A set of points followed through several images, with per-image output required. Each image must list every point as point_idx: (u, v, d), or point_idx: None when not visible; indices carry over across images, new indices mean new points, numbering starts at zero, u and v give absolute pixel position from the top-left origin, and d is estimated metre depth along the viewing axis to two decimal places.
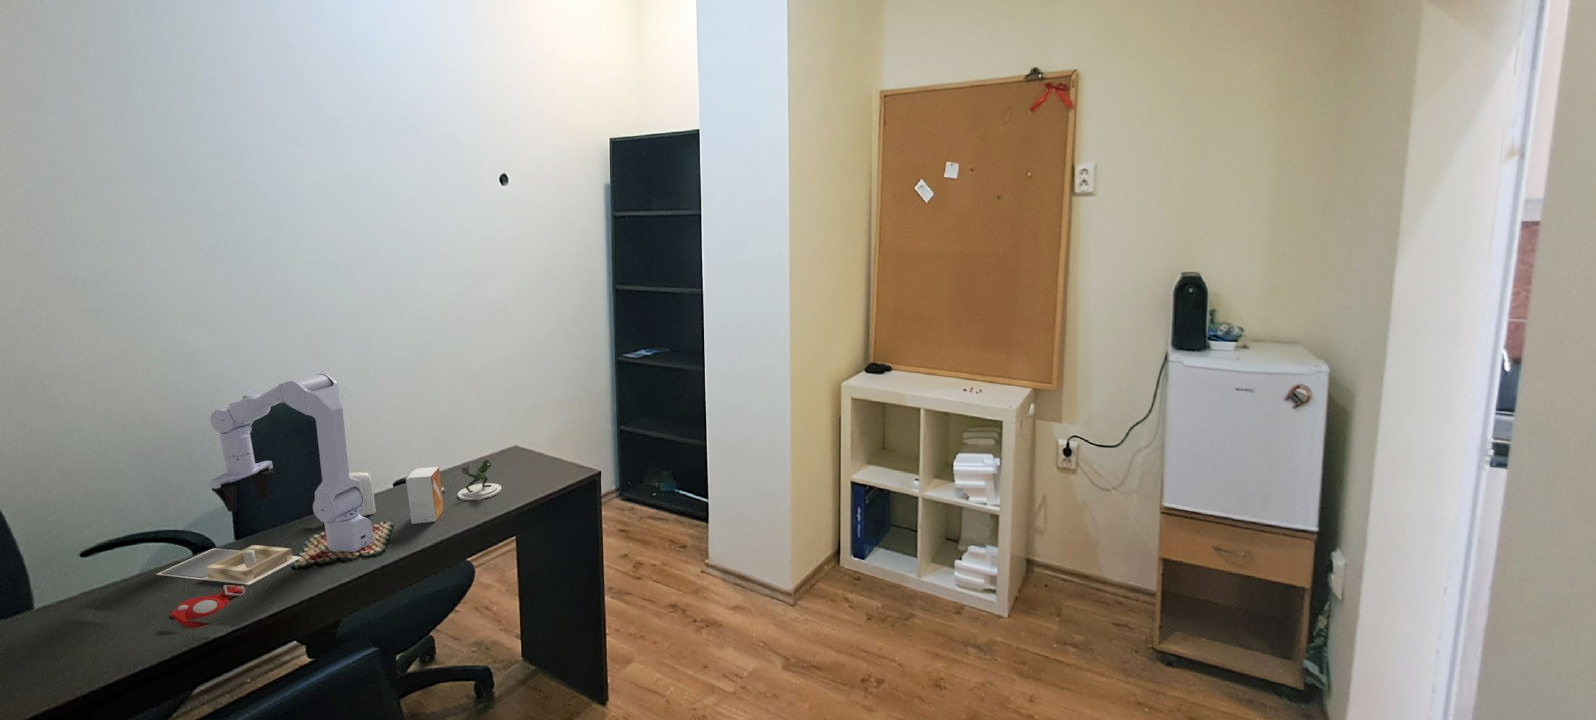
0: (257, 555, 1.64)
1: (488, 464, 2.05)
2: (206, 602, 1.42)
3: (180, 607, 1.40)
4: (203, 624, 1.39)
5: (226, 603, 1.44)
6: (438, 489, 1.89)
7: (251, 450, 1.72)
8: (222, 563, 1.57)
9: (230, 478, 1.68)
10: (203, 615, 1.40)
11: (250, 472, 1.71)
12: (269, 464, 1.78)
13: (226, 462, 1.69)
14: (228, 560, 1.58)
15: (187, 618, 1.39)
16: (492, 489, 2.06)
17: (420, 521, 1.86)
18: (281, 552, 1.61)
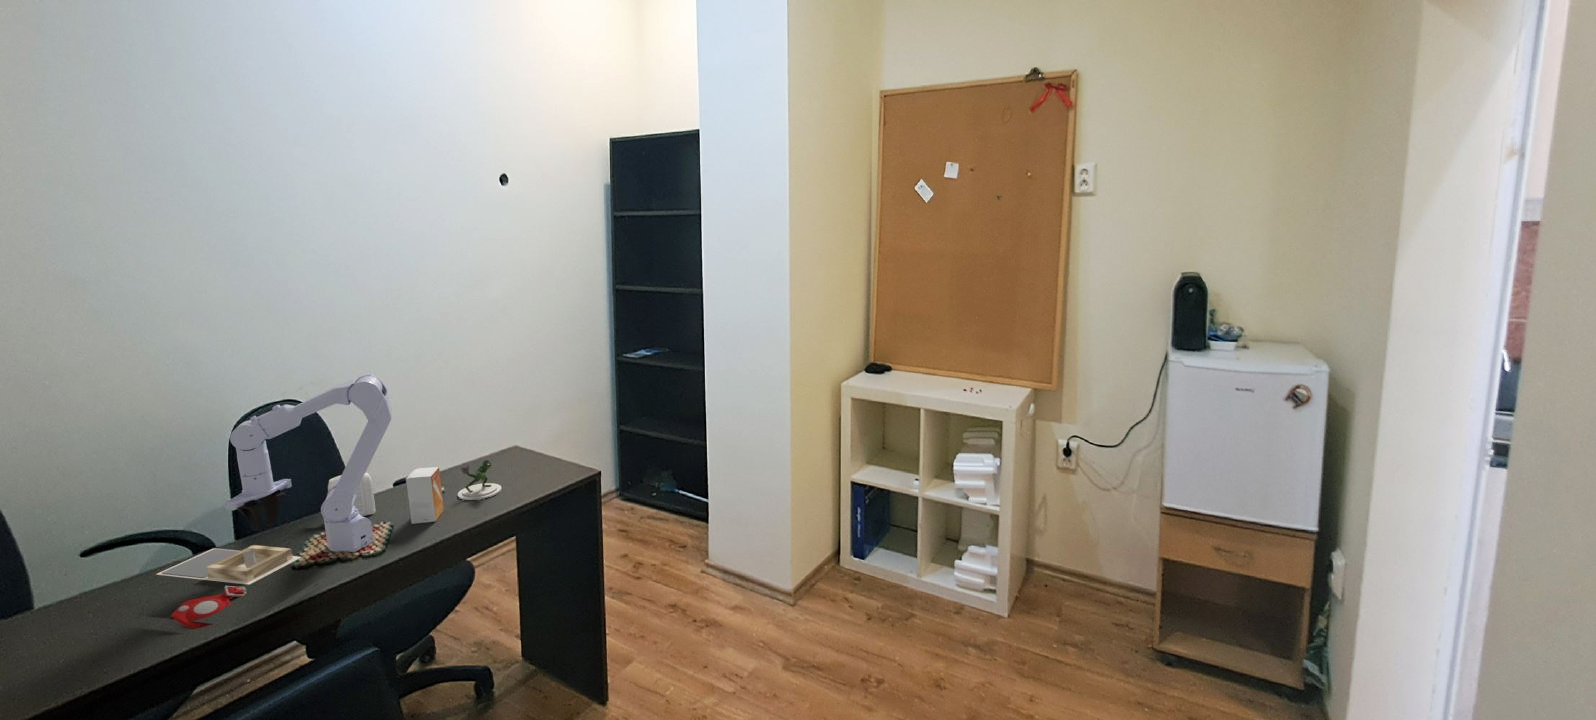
0: (257, 555, 1.64)
1: (488, 464, 2.05)
2: (207, 603, 1.42)
3: (181, 608, 1.40)
4: (204, 625, 1.38)
5: (227, 604, 1.44)
6: (438, 489, 1.89)
7: None
8: (222, 563, 1.57)
9: (247, 499, 1.56)
10: (204, 615, 1.39)
11: (268, 492, 1.60)
12: (287, 483, 1.67)
13: (242, 482, 1.58)
14: (228, 560, 1.58)
15: (188, 619, 1.38)
16: (492, 489, 2.06)
17: (420, 521, 1.86)
18: (281, 552, 1.61)
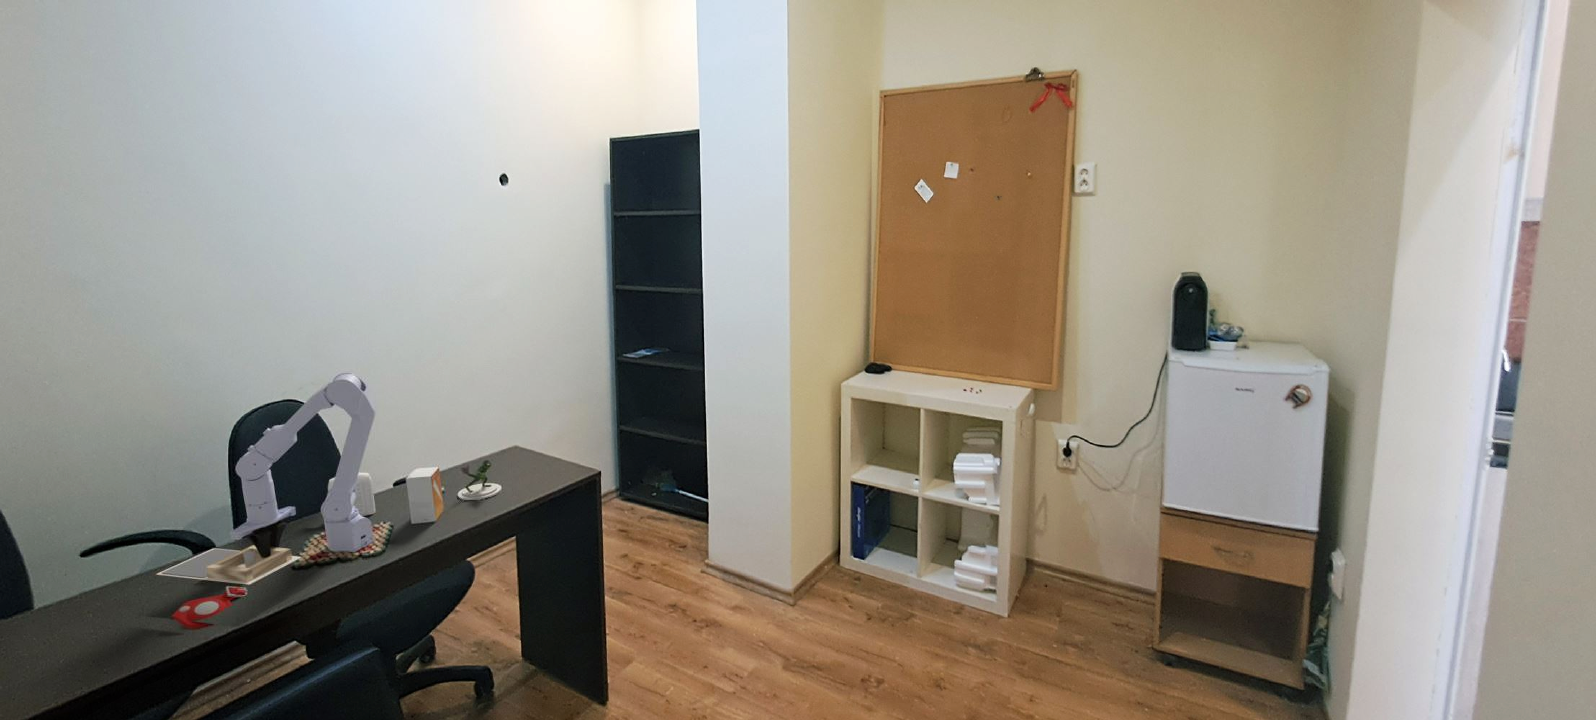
0: (257, 555, 1.64)
1: (488, 464, 2.05)
2: (208, 603, 1.41)
3: (182, 608, 1.40)
4: (204, 626, 1.38)
5: (228, 604, 1.43)
6: (438, 489, 1.89)
7: None
8: (222, 563, 1.57)
9: (252, 528, 1.58)
10: (204, 616, 1.39)
11: (273, 521, 1.61)
12: (291, 510, 1.68)
13: (247, 511, 1.59)
14: (228, 560, 1.58)
15: (188, 619, 1.38)
16: (492, 489, 2.06)
17: (420, 521, 1.86)
18: (281, 552, 1.61)
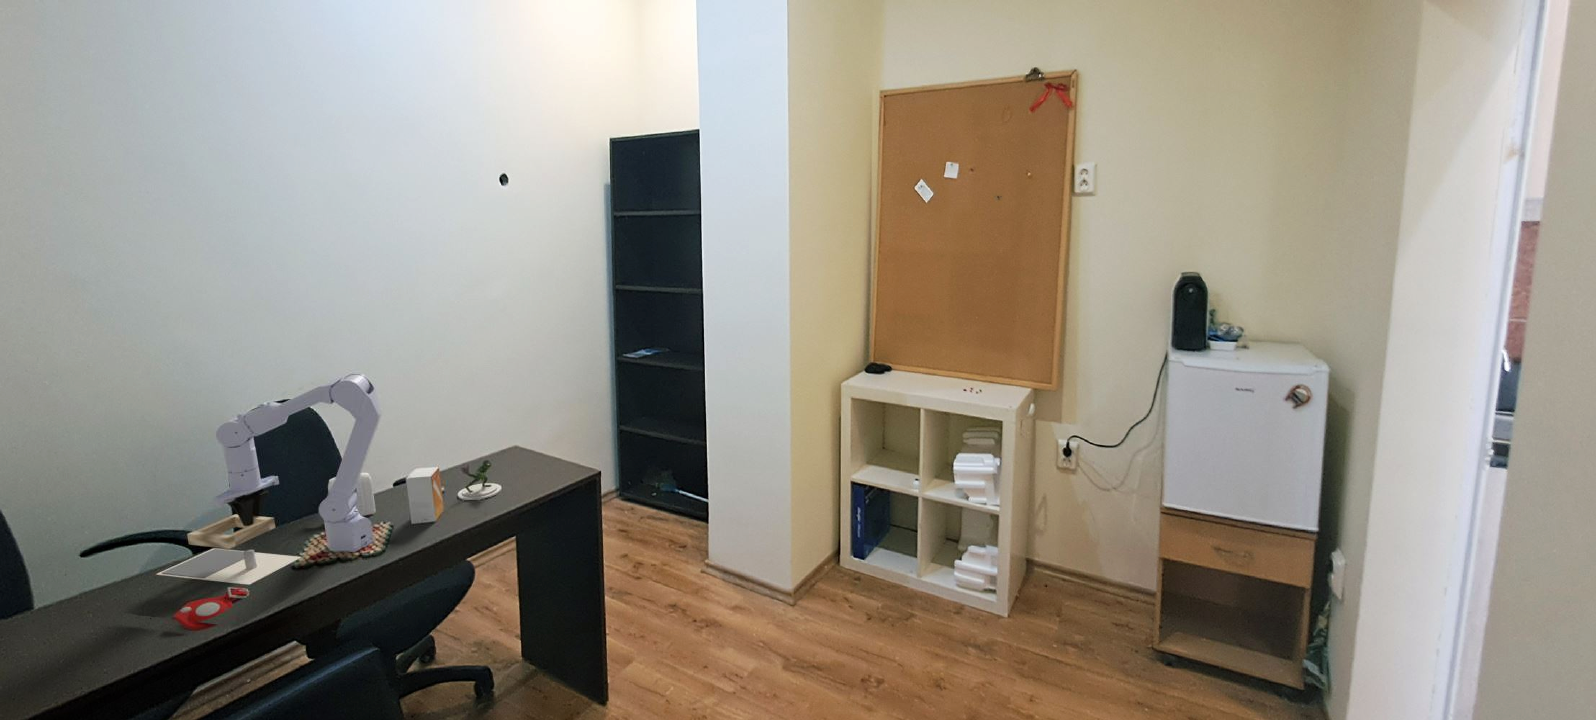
0: (239, 524, 1.63)
1: (488, 464, 2.05)
2: (209, 604, 1.41)
3: (183, 609, 1.39)
4: (205, 627, 1.38)
5: (229, 606, 1.43)
6: (438, 489, 1.89)
7: (257, 463, 1.62)
8: (203, 530, 1.56)
9: (234, 495, 1.57)
10: (205, 617, 1.38)
11: (255, 489, 1.60)
12: (275, 480, 1.67)
13: (229, 478, 1.58)
14: (210, 528, 1.57)
15: (189, 620, 1.38)
16: (492, 489, 2.06)
17: (420, 521, 1.86)
18: (263, 521, 1.60)
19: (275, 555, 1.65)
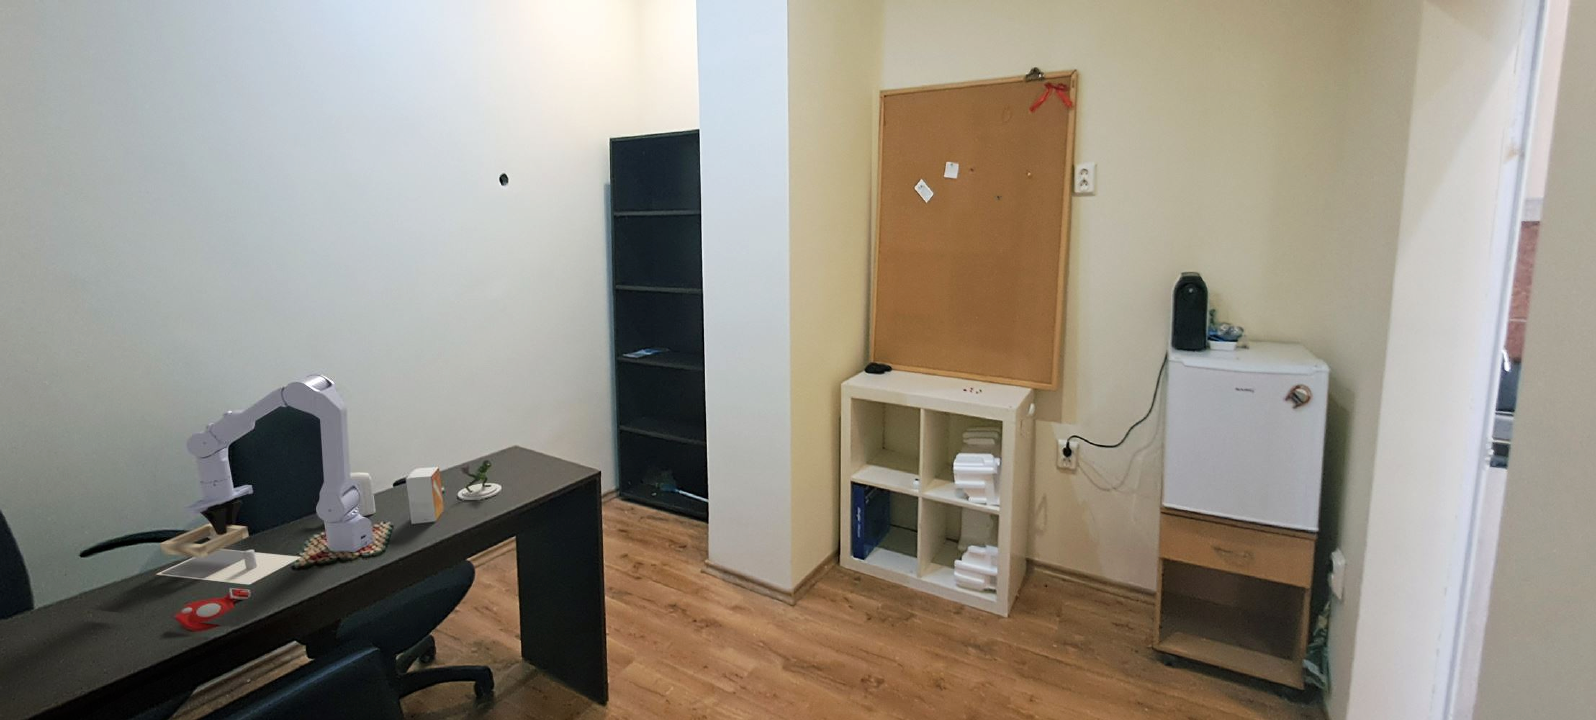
0: (213, 532, 1.65)
1: (488, 464, 2.05)
2: (210, 605, 1.41)
3: (184, 610, 1.39)
4: (205, 628, 1.37)
5: (230, 607, 1.42)
6: (438, 489, 1.89)
7: (230, 473, 1.64)
8: (177, 540, 1.58)
9: (206, 505, 1.59)
10: (206, 618, 1.38)
11: (228, 498, 1.63)
12: (248, 489, 1.69)
13: (202, 488, 1.60)
14: (183, 537, 1.60)
15: (190, 621, 1.37)
16: (492, 489, 2.06)
17: (420, 521, 1.86)
18: (236, 530, 1.63)
19: (275, 555, 1.65)
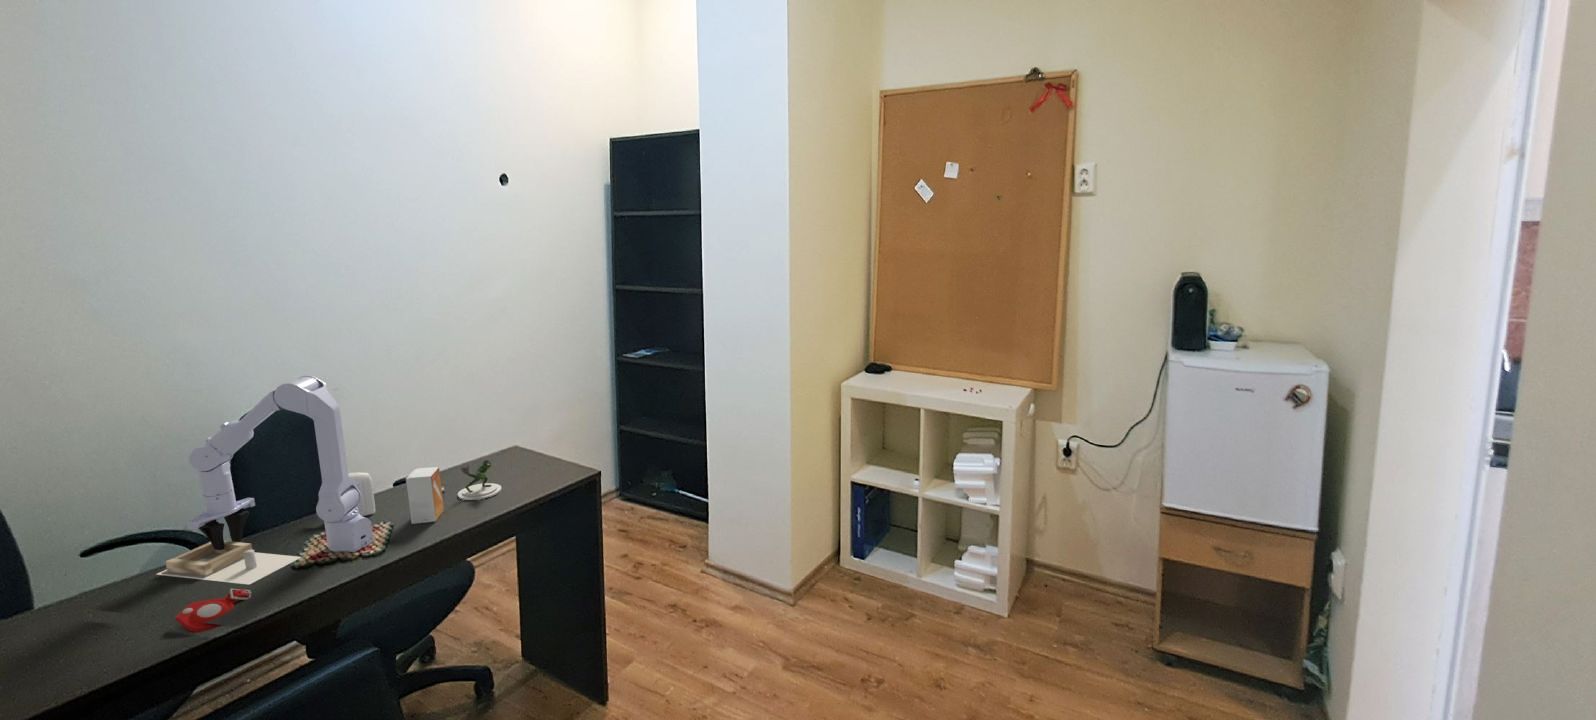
0: None
1: (488, 464, 2.05)
2: (210, 606, 1.40)
3: (185, 610, 1.39)
4: (206, 629, 1.37)
5: (231, 607, 1.42)
6: (438, 489, 1.89)
7: None
8: (182, 557, 1.59)
9: (209, 519, 1.60)
10: (206, 619, 1.38)
11: (230, 511, 1.63)
12: (250, 502, 1.70)
13: (205, 502, 1.61)
14: (188, 555, 1.61)
15: (190, 622, 1.37)
16: (492, 489, 2.06)
17: (420, 521, 1.86)
18: (241, 547, 1.64)
19: (275, 555, 1.65)
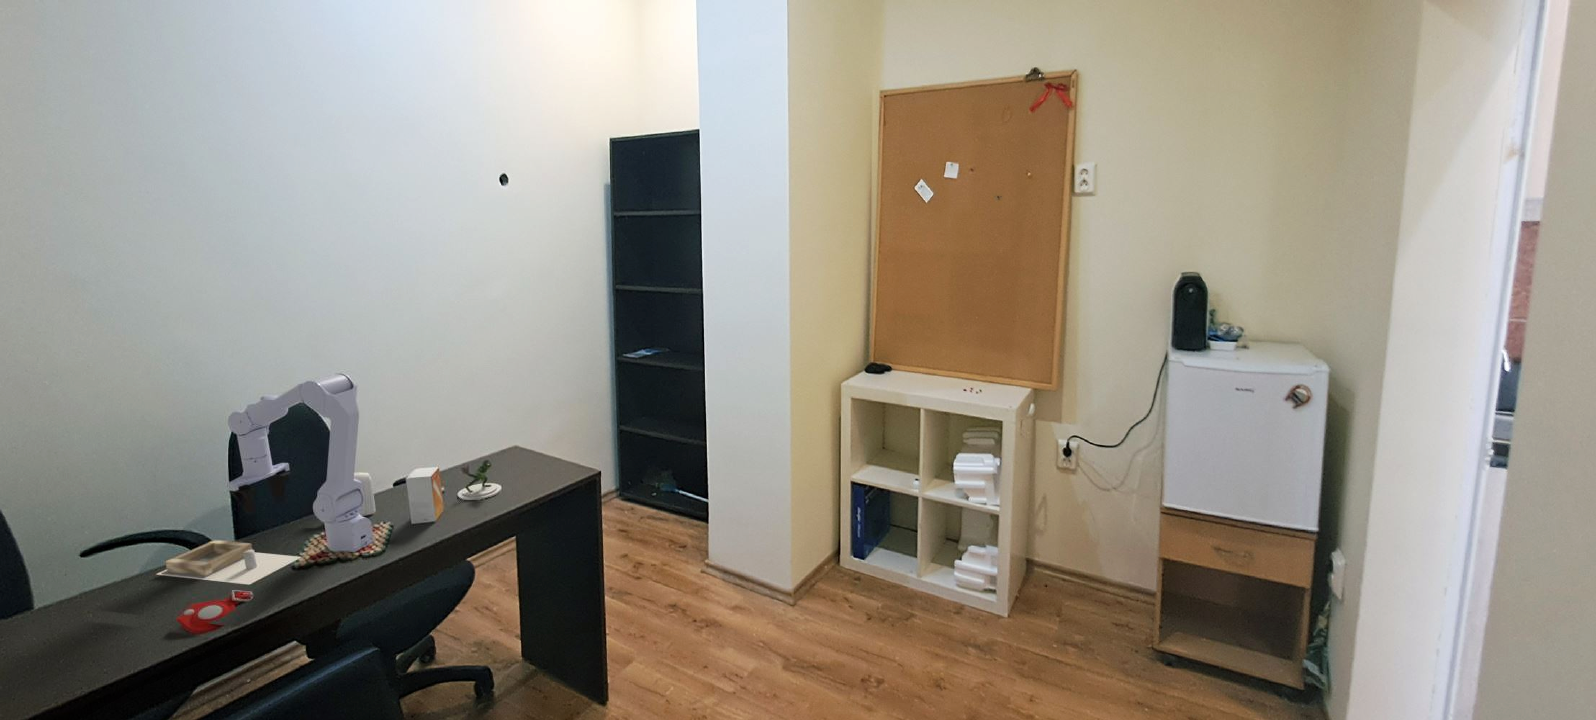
0: (218, 549, 1.66)
1: (488, 464, 2.05)
2: (212, 607, 1.40)
3: (186, 611, 1.38)
4: (206, 630, 1.36)
5: (232, 609, 1.42)
6: (438, 489, 1.89)
7: (268, 452, 1.71)
8: (182, 557, 1.59)
9: (248, 480, 1.67)
10: (207, 621, 1.37)
11: (268, 474, 1.70)
12: (285, 466, 1.77)
13: (243, 464, 1.68)
14: (188, 555, 1.61)
15: (191, 623, 1.37)
16: (492, 489, 2.06)
17: (420, 521, 1.86)
18: (241, 547, 1.64)
19: (275, 555, 1.65)
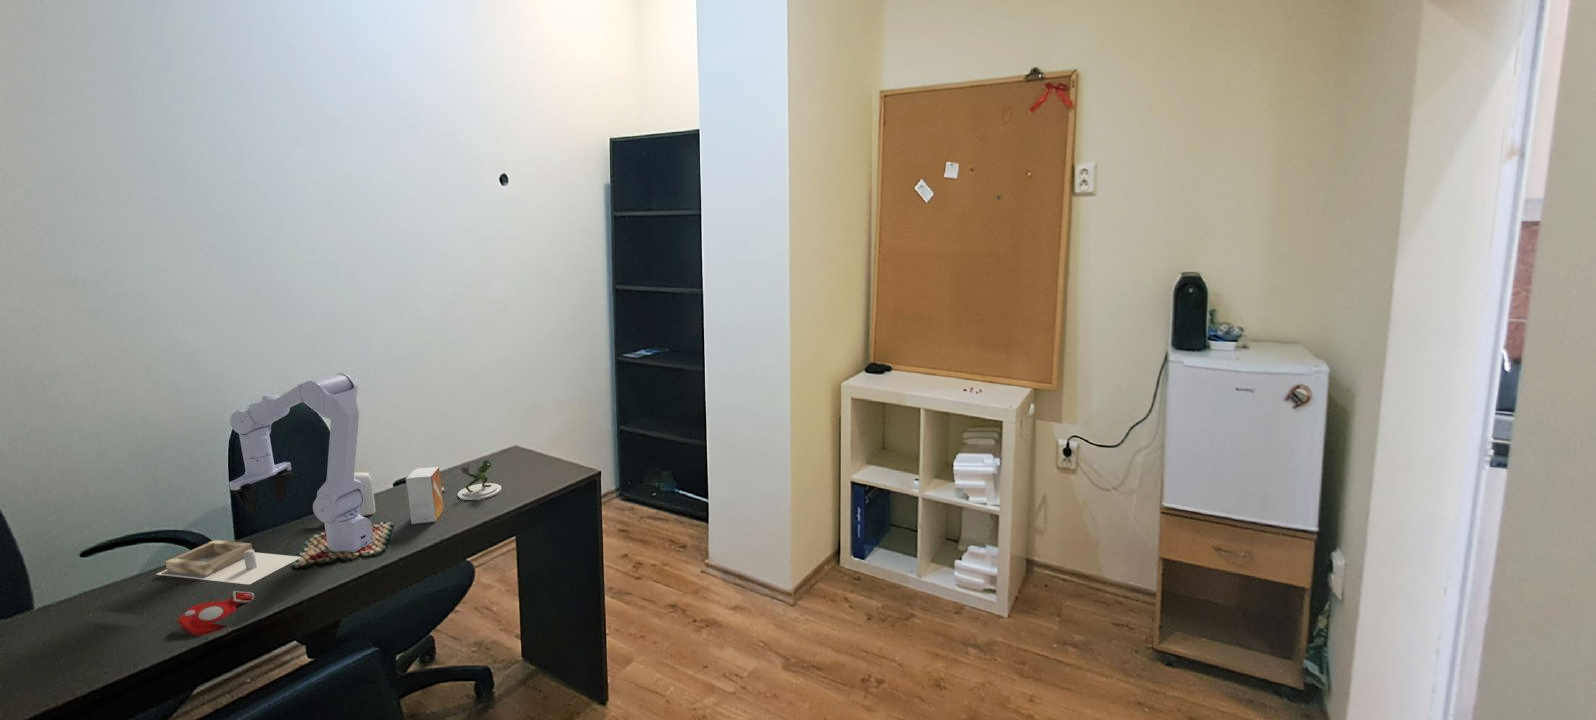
0: (218, 549, 1.66)
1: (488, 464, 2.05)
2: (212, 609, 1.39)
3: (187, 612, 1.38)
4: (206, 632, 1.36)
5: (232, 610, 1.41)
6: (438, 489, 1.89)
7: (270, 451, 1.71)
8: (182, 557, 1.59)
9: (250, 480, 1.67)
10: (207, 622, 1.37)
11: (269, 473, 1.71)
12: (287, 466, 1.77)
13: (245, 464, 1.68)
14: (188, 555, 1.61)
15: (192, 625, 1.36)
16: (492, 489, 2.06)
17: (420, 521, 1.86)
18: (241, 547, 1.64)
19: (275, 555, 1.65)
